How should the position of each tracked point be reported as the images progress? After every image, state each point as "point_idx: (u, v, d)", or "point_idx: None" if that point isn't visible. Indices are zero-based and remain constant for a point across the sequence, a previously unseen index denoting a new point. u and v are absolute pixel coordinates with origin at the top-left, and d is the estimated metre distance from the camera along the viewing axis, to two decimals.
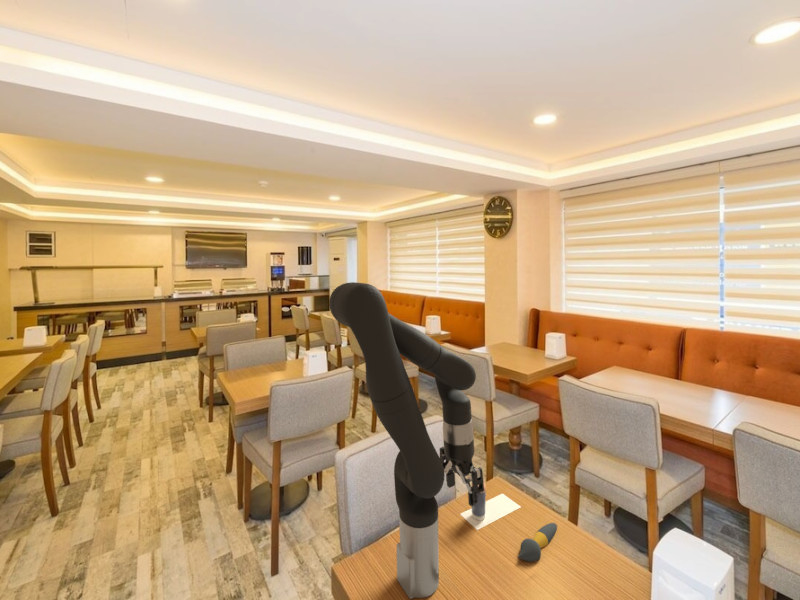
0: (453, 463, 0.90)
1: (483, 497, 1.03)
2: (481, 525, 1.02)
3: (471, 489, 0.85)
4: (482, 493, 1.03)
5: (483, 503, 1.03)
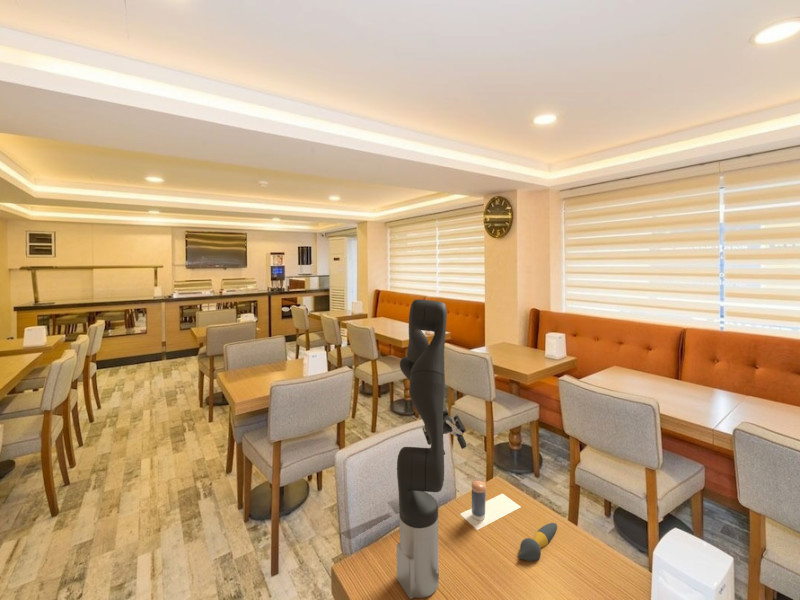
0: None
1: (483, 497, 1.03)
2: (481, 525, 1.02)
3: None
4: (482, 493, 1.03)
5: (483, 503, 1.03)
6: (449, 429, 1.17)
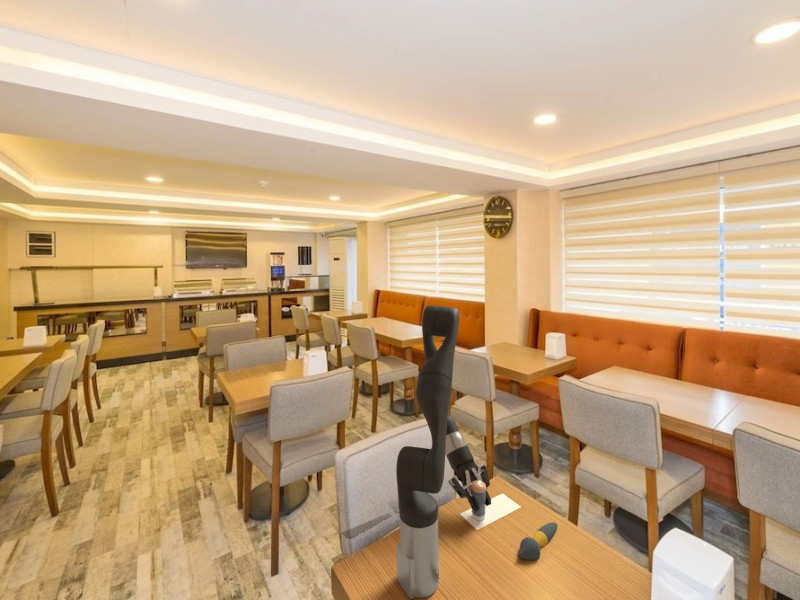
0: None
1: (483, 497, 1.03)
2: (481, 525, 1.02)
3: None
4: (482, 493, 1.03)
5: (483, 503, 1.03)
6: (473, 478, 1.07)
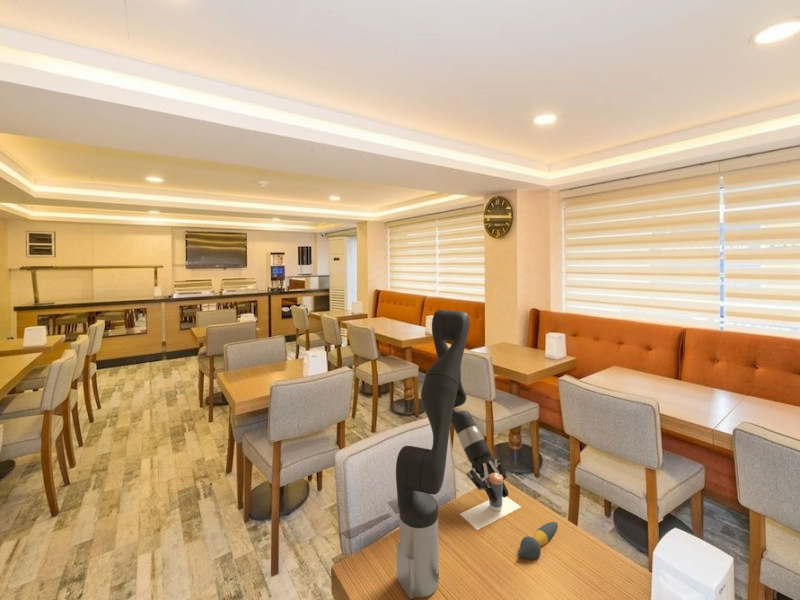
0: None
1: (500, 489, 1.07)
2: (481, 525, 1.02)
3: None
4: (500, 485, 1.06)
5: (500, 494, 1.07)
6: (490, 471, 1.10)
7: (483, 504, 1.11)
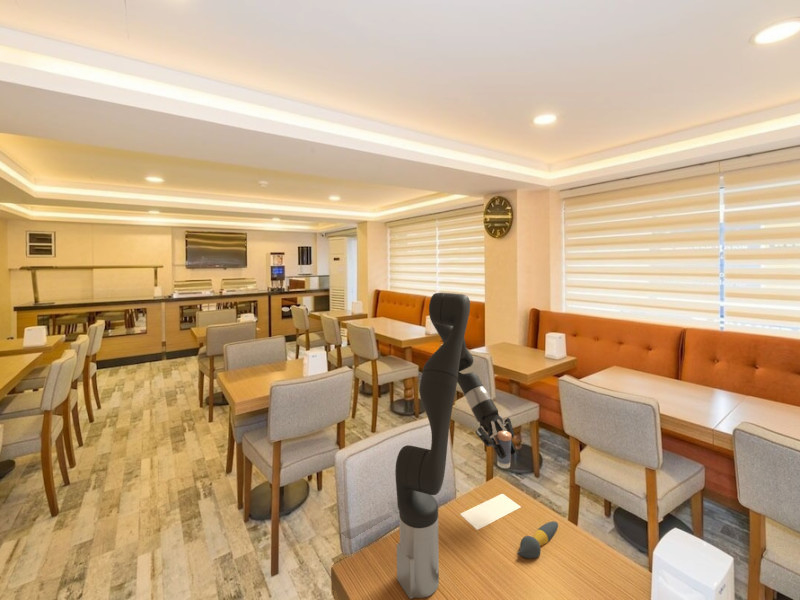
0: None
1: (509, 445, 1.07)
2: (481, 525, 1.02)
3: None
4: (508, 441, 1.07)
5: (509, 451, 1.07)
6: (498, 429, 1.11)
7: (483, 504, 1.11)
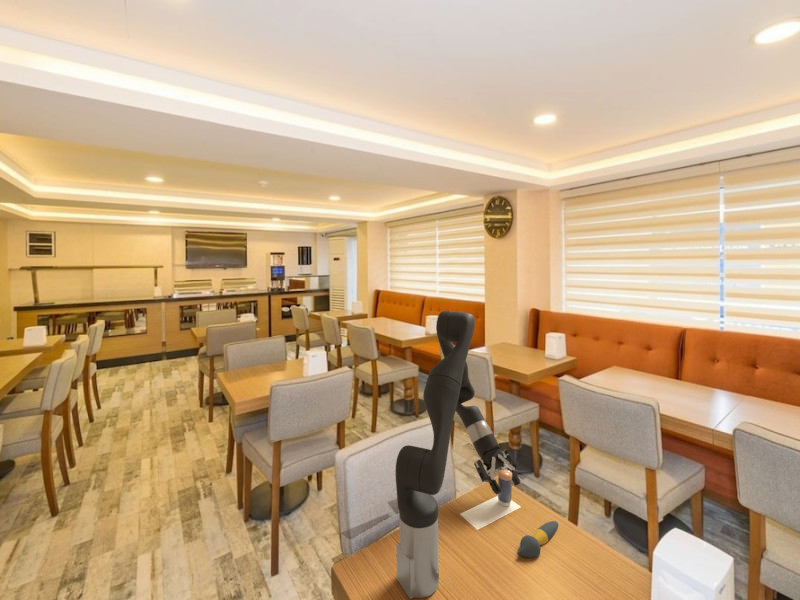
0: None
1: (510, 484, 1.08)
2: (481, 525, 1.02)
3: None
4: (509, 481, 1.08)
5: (509, 490, 1.09)
6: (501, 464, 1.13)
7: (483, 504, 1.11)
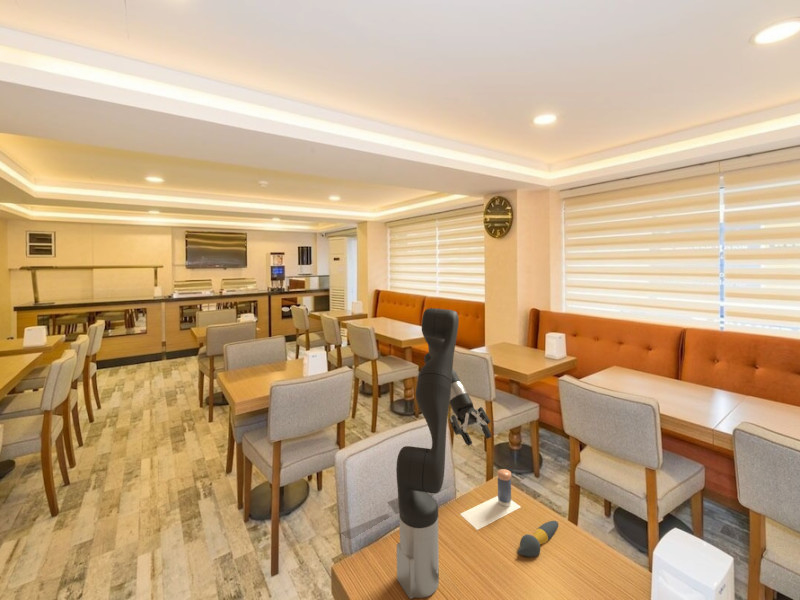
0: None
1: (509, 484, 1.08)
2: (481, 525, 1.02)
3: None
4: (508, 481, 1.08)
5: (509, 490, 1.09)
6: (474, 420, 1.22)
7: (483, 504, 1.11)
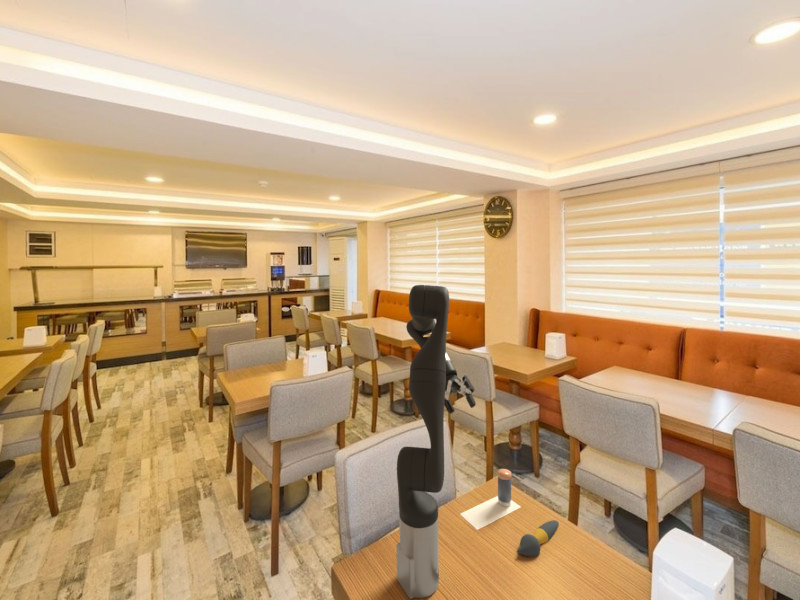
0: None
1: (509, 484, 1.09)
2: (481, 525, 1.02)
3: None
4: (508, 480, 1.08)
5: (509, 490, 1.09)
6: (458, 388, 1.15)
7: (483, 504, 1.11)
